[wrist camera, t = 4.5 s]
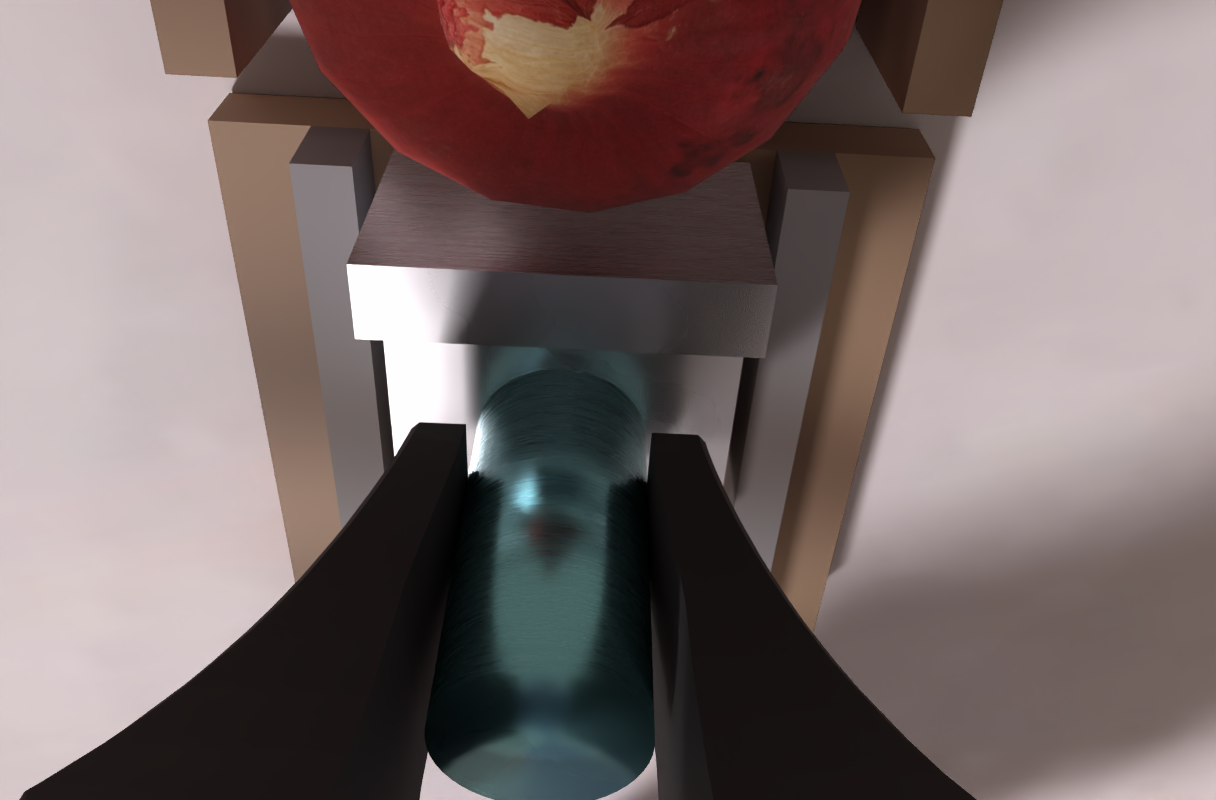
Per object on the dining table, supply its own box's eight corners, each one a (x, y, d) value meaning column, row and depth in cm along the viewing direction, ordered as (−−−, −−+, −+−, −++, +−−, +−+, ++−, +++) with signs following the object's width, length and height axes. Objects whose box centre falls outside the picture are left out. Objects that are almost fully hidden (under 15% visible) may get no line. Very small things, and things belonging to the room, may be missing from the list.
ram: (702, 489, 18) (738, 874, 12) (421, 477, 18) (334, 860, 12) (749, 162, 14) (828, 506, 9) (396, 145, 14) (257, 482, 9)
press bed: (806, 595, 21) (852, 844, 17) (313, 574, 21) (234, 822, 17) (1104, -633, 10) (1441, -795, 6) (91, -704, 10) (-292, -922, 6)
